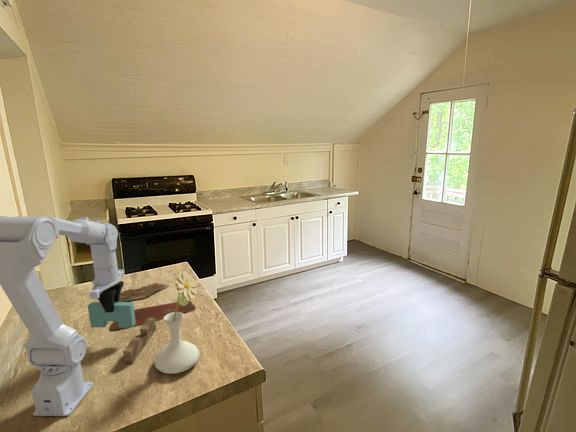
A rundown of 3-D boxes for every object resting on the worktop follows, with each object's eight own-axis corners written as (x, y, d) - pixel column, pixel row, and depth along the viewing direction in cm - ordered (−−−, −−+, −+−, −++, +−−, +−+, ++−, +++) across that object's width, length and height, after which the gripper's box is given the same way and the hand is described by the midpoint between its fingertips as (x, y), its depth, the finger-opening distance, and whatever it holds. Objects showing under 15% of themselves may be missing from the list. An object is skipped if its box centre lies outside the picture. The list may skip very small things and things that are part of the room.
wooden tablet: (110, 334, 100) (109, 329, 100) (110, 318, 109) (109, 313, 108) (197, 312, 112) (197, 308, 112) (191, 300, 121) (191, 296, 120)
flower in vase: (174, 385, 79) (165, 291, 73) (145, 367, 85) (135, 279, 79) (213, 355, 90) (208, 271, 84) (185, 341, 96) (178, 262, 90)
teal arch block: (135, 323, 96) (133, 302, 94) (132, 327, 94) (130, 305, 92) (94, 323, 96) (91, 302, 94) (91, 327, 94) (87, 305, 92)
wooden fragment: (164, 281, 135) (164, 279, 135) (173, 291, 127) (173, 289, 126) (93, 300, 120) (93, 298, 119) (98, 313, 111) (98, 310, 111)
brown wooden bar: (132, 364, 86) (130, 351, 85) (124, 364, 86) (122, 351, 85) (156, 329, 102) (154, 317, 101) (149, 329, 102) (148, 317, 101)
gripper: (105, 255, 97) (111, 297, 100) (74, 276, 83) (82, 323, 86) (128, 255, 97) (133, 297, 100) (102, 276, 83) (109, 323, 86)
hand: (111, 309), depth 93 cm, fingers closed on teal arch block, 2 cm apart
